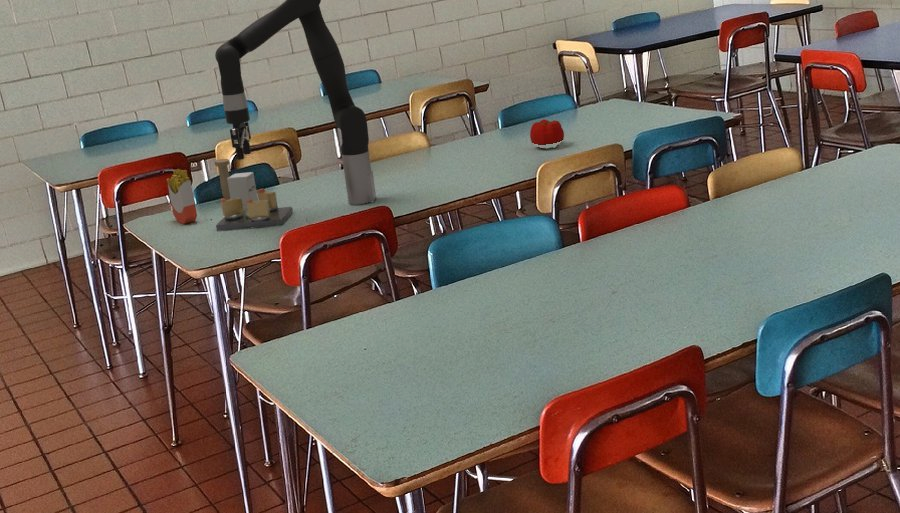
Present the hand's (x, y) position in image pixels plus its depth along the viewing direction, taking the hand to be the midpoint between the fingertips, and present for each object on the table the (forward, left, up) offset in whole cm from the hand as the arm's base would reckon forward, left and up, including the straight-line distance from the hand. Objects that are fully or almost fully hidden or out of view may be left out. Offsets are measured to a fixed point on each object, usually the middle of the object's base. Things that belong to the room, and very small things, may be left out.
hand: (244, 156), depth 342 cm
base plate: (0, 0, -22) cm, 22 cm away
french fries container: (+27, -9, -22) cm, 36 cm away
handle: (+19, -35, -22) cm, 46 cm away
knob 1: (+7, 0, -20) cm, 21 cm away
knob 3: (-4, +6, -20) cm, 21 cm away
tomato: (-99, -75, -22) cm, 126 cm away
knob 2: (-4, -6, -20) cm, 21 cm away
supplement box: (+8, -18, -22) cm, 30 cm away
